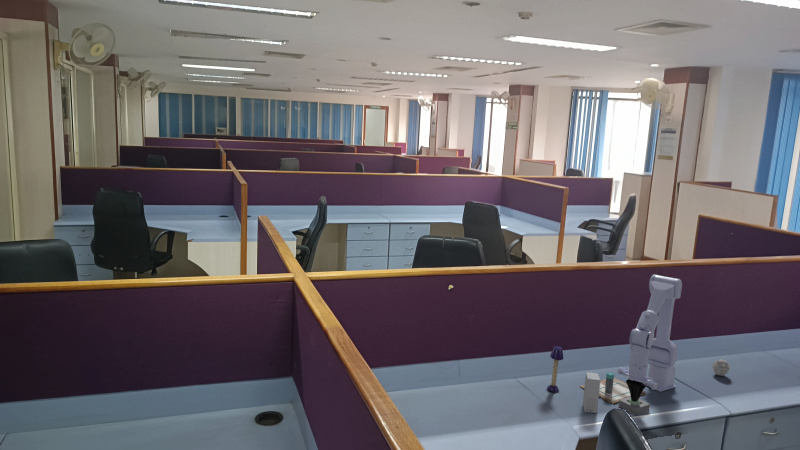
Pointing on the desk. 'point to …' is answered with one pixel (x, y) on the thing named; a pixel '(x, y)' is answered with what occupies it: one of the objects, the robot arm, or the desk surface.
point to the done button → (634, 402)
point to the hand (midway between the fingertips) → (634, 400)
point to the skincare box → (591, 392)
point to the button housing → (632, 408)
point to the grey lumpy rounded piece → (720, 367)
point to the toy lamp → (555, 367)
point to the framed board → (614, 391)
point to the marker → (609, 383)
